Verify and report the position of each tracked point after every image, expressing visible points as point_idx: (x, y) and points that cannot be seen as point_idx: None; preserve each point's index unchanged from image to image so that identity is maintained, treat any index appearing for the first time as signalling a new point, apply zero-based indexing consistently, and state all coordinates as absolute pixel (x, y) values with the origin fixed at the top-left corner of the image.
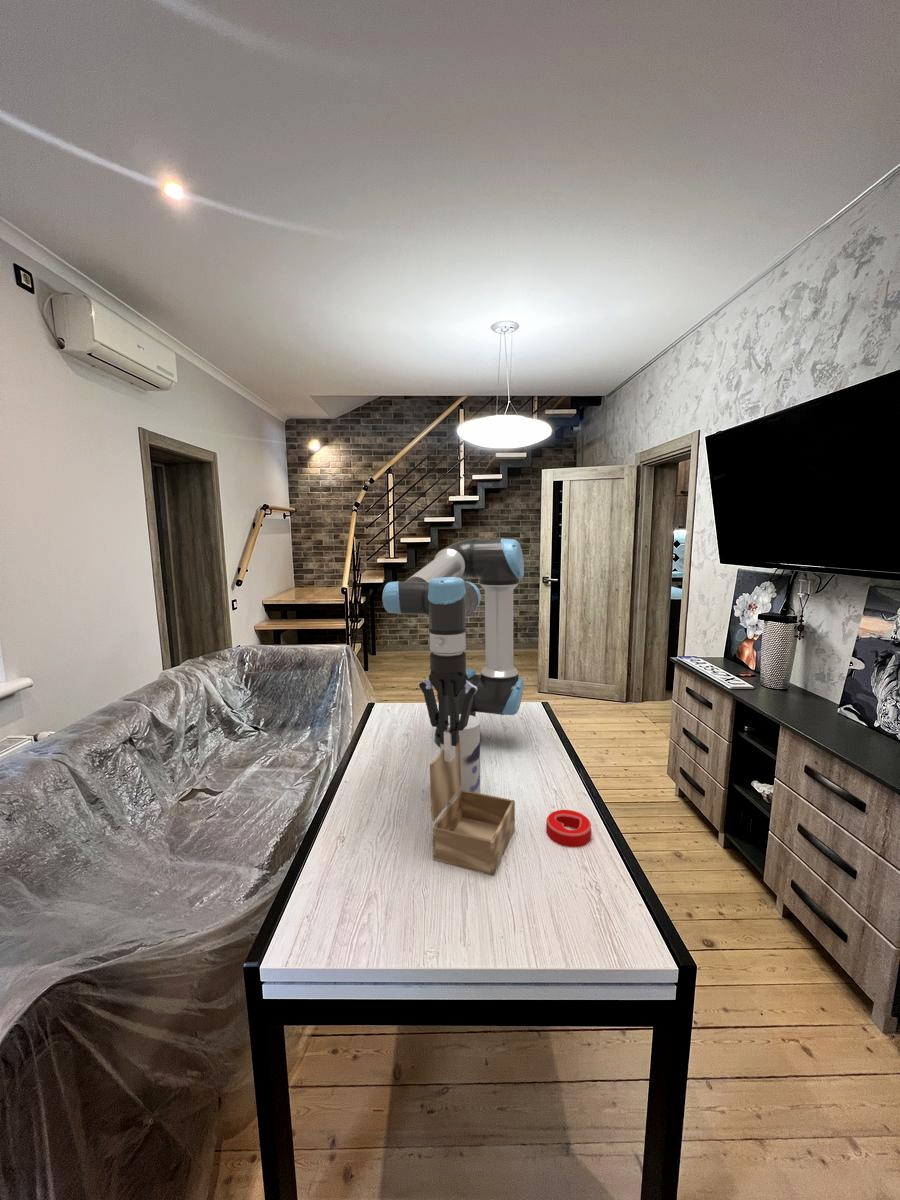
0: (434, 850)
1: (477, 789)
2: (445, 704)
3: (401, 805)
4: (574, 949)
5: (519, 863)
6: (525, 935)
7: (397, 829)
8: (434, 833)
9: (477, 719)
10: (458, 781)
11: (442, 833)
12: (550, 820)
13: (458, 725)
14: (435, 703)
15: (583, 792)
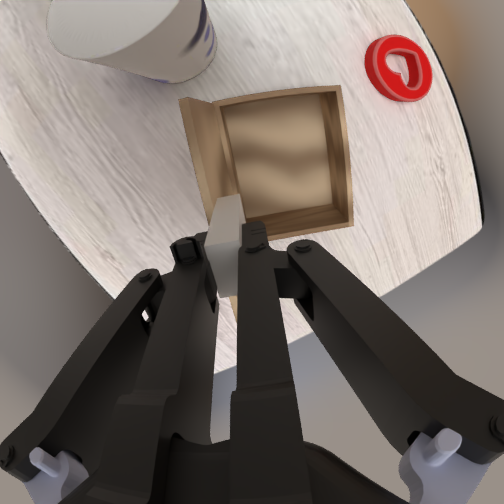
0: None
1: (214, 38)
2: (200, 386)
3: (106, 141)
4: (426, 254)
5: (358, 165)
6: (389, 264)
7: (147, 195)
8: None
9: None
10: (215, 119)
11: None
12: (383, 73)
13: (297, 307)
14: (110, 360)
15: None
